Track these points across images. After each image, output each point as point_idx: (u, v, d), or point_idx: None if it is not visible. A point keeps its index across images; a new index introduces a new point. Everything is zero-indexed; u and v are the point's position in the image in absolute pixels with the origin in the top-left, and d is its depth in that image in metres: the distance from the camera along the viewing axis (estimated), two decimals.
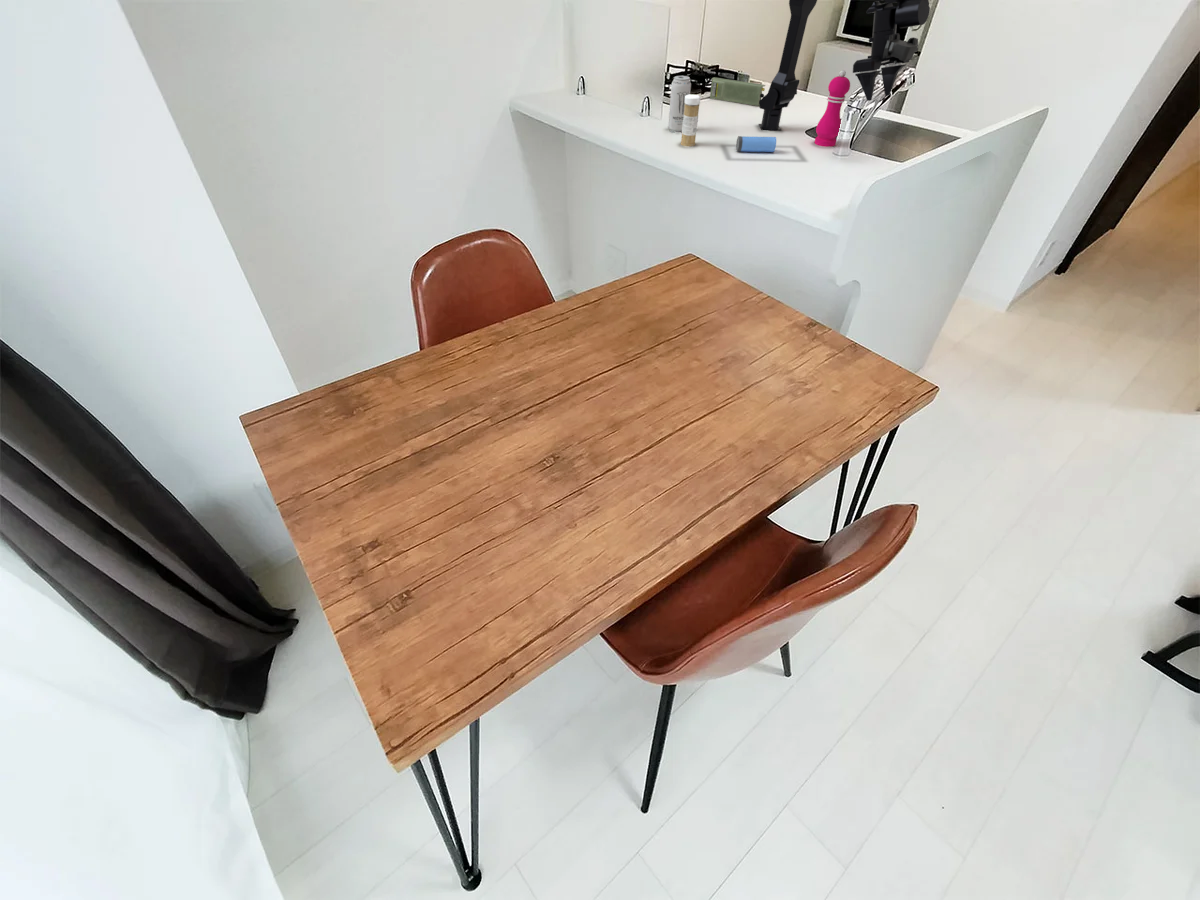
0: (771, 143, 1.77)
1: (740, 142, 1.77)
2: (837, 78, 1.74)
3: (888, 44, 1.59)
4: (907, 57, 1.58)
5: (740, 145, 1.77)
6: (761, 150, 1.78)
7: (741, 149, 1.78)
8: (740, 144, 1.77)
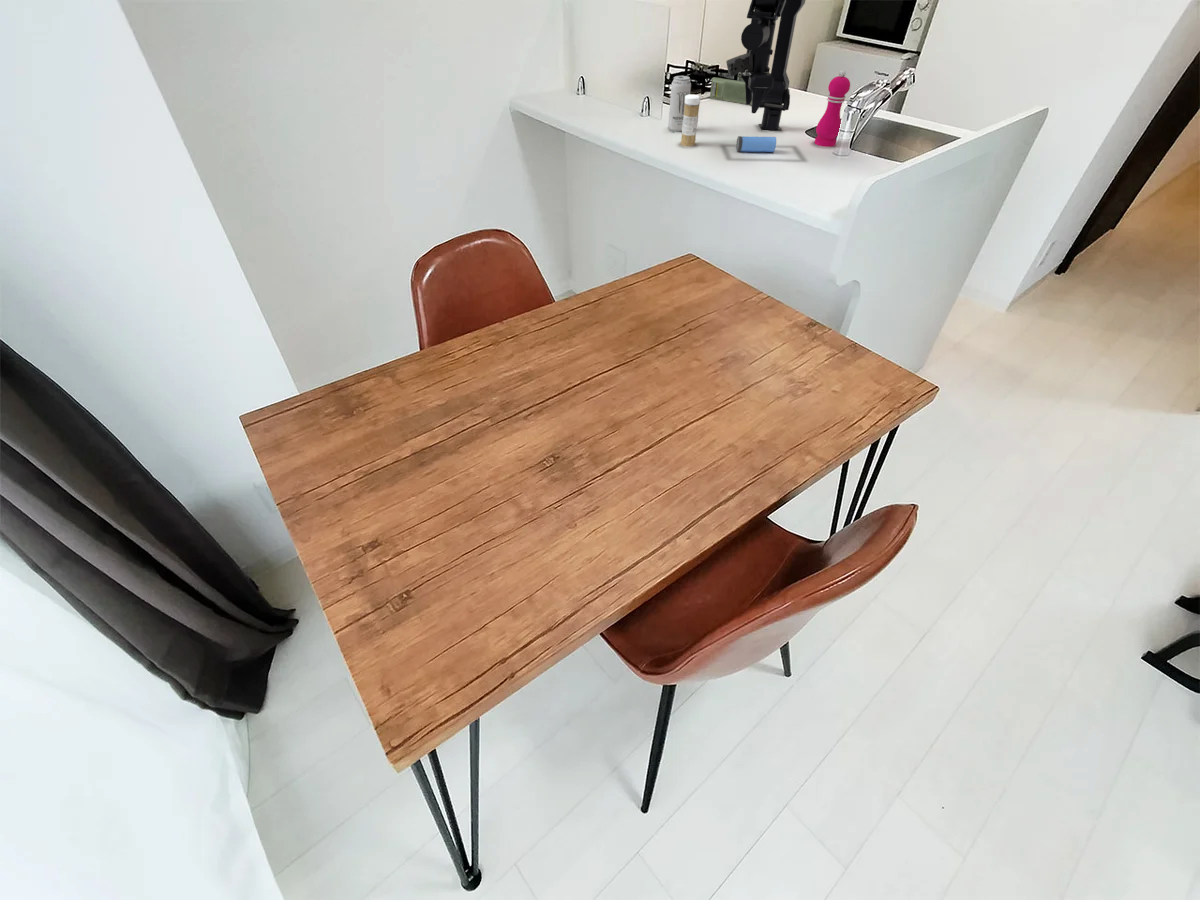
0: (771, 143, 1.77)
1: (740, 142, 1.77)
2: (837, 78, 1.74)
3: None
4: (728, 71, 1.67)
5: (740, 145, 1.77)
6: (761, 150, 1.78)
7: (741, 149, 1.78)
8: (740, 144, 1.77)
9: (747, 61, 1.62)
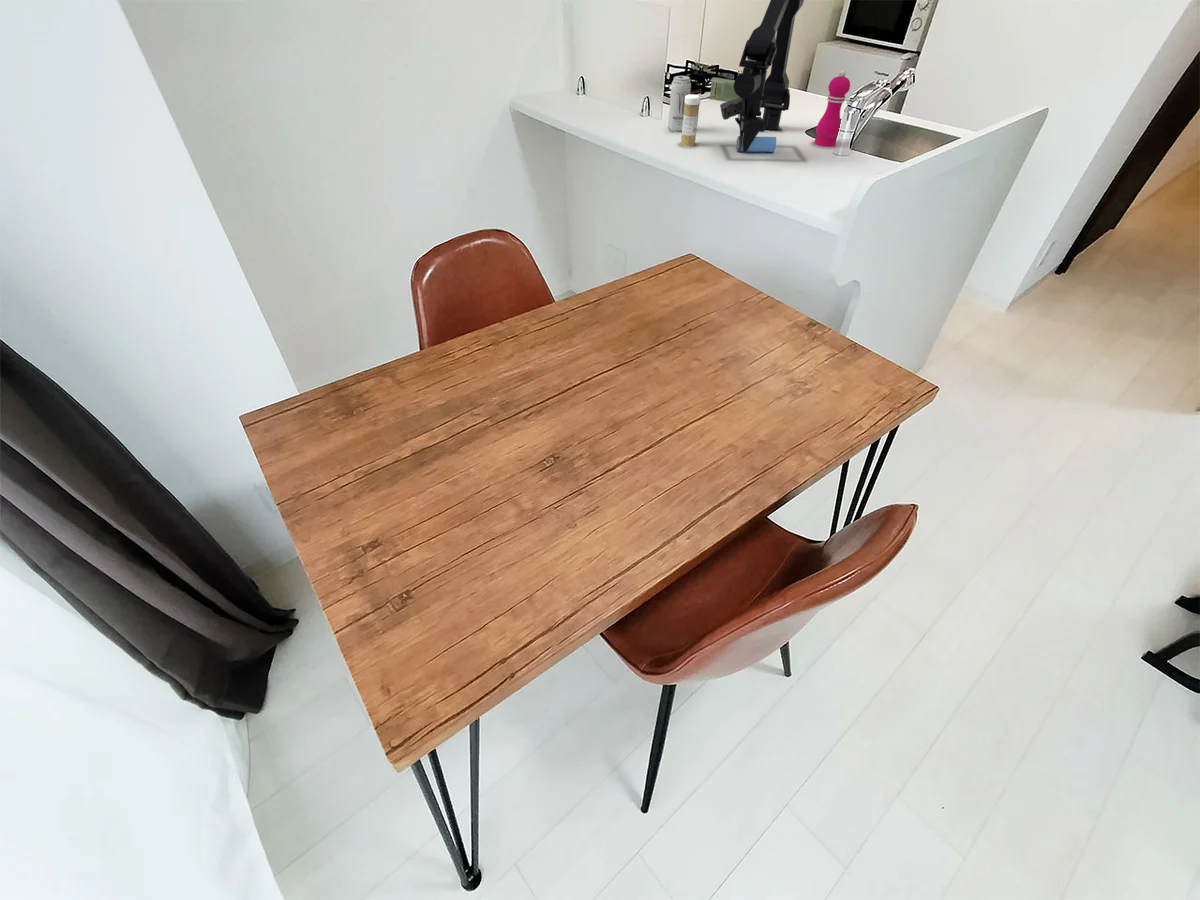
0: (771, 143, 1.77)
1: (740, 142, 1.77)
2: (837, 78, 1.74)
3: None
4: None
5: (740, 145, 1.77)
6: (761, 150, 1.78)
7: (741, 149, 1.78)
8: (740, 144, 1.77)
9: (740, 106, 1.69)
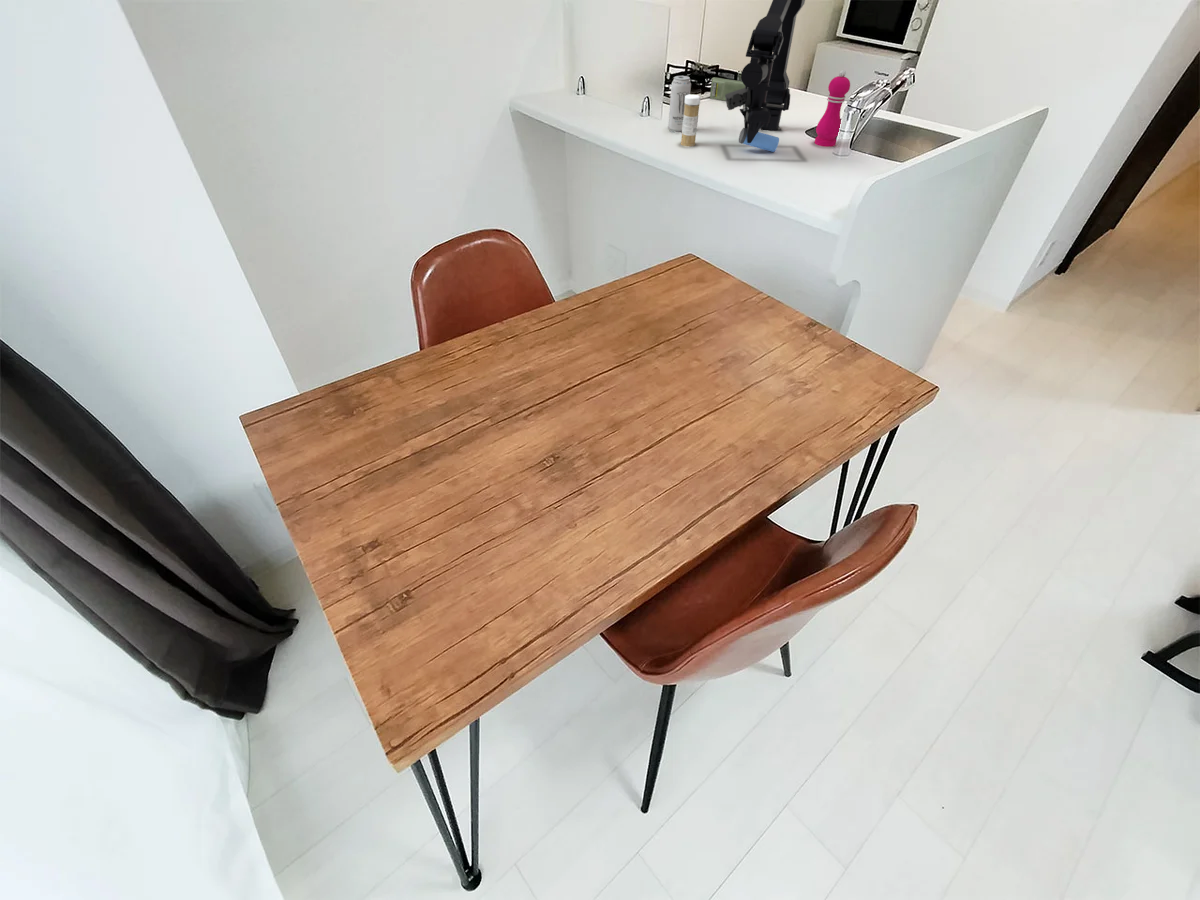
0: (773, 142, 1.77)
1: (744, 134, 1.75)
2: (837, 78, 1.74)
3: None
4: None
5: (744, 137, 1.75)
6: (763, 147, 1.78)
7: (744, 141, 1.76)
8: (744, 136, 1.75)
9: (745, 96, 1.68)
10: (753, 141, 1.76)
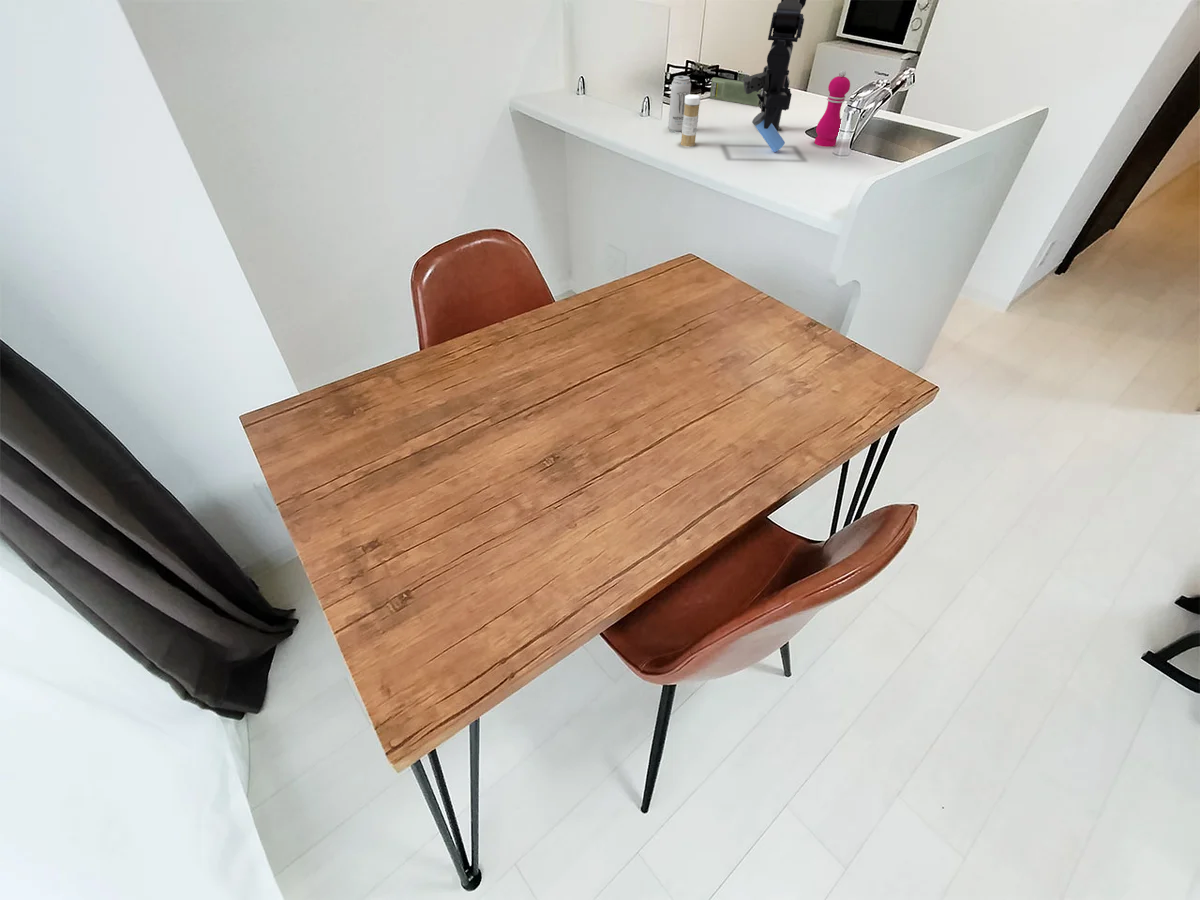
0: (779, 143, 1.77)
1: (763, 117, 1.72)
2: (837, 78, 1.74)
3: None
4: (744, 88, 1.70)
5: (761, 120, 1.72)
6: (768, 141, 1.77)
7: (758, 124, 1.73)
8: (761, 119, 1.72)
9: (763, 80, 1.65)
10: (765, 129, 1.74)
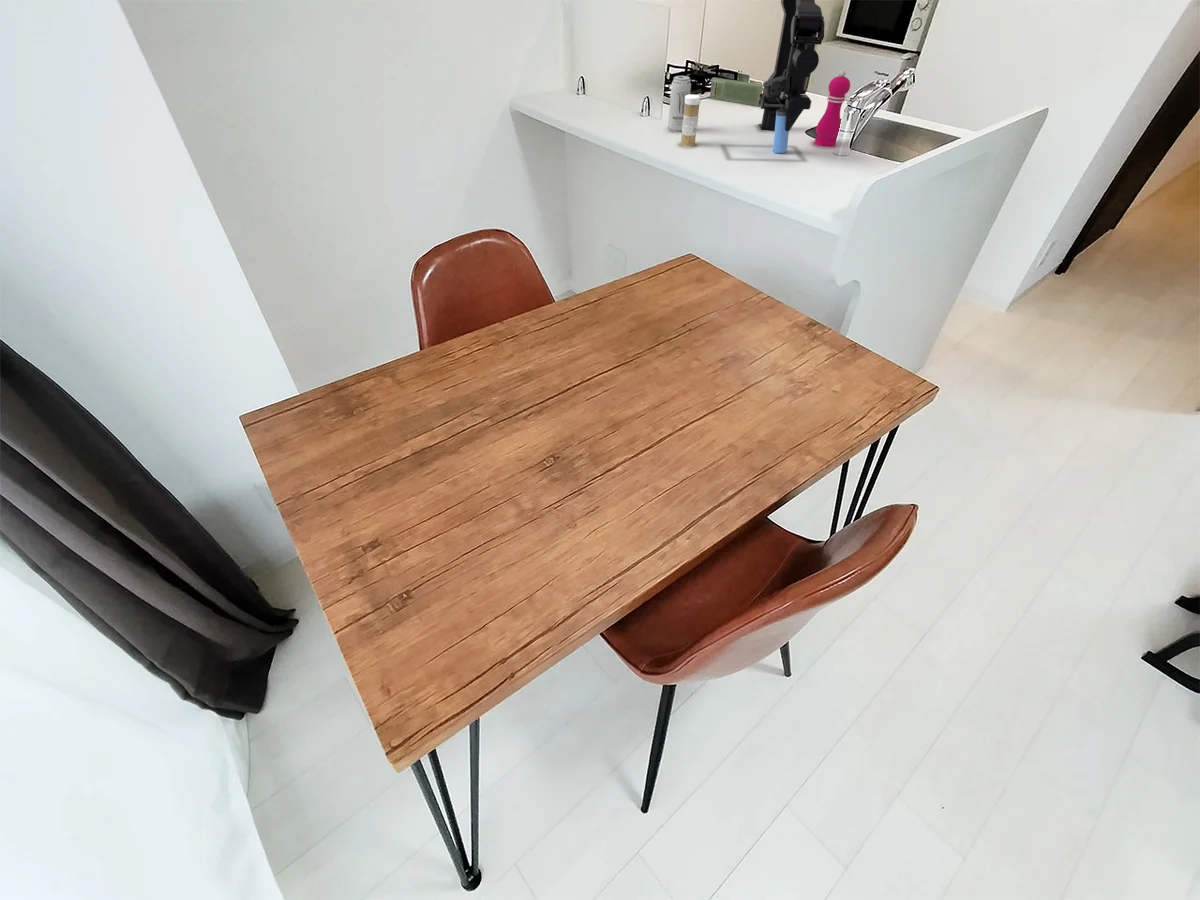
0: (784, 147, 1.77)
1: None
2: (837, 78, 1.74)
3: None
4: (764, 92, 1.70)
5: (785, 114, 1.71)
6: (777, 139, 1.76)
7: (781, 116, 1.72)
8: None
9: (784, 83, 1.66)
10: (782, 126, 1.73)
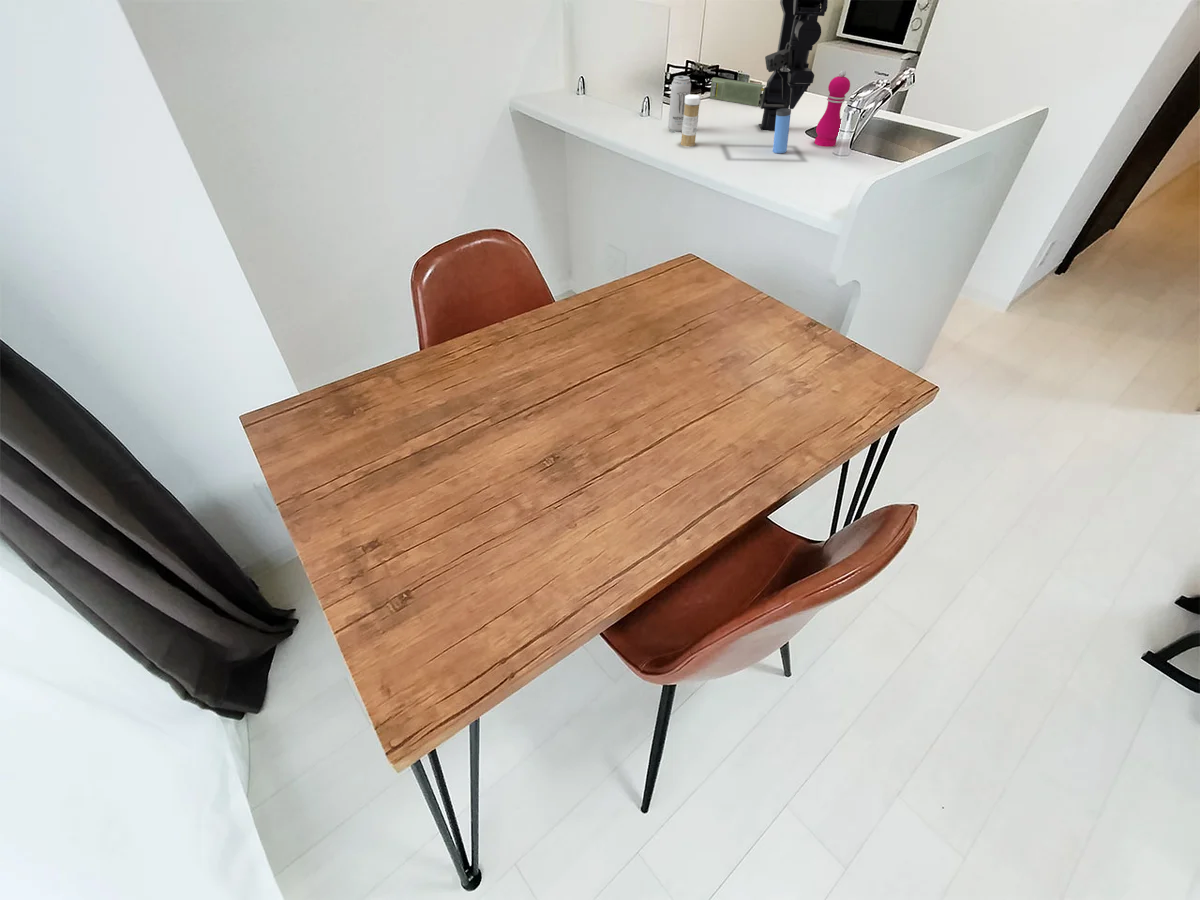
0: (784, 147, 1.77)
1: (788, 113, 1.71)
2: (837, 78, 1.74)
3: None
4: (766, 67, 1.67)
5: (785, 114, 1.71)
6: (777, 139, 1.76)
7: (781, 116, 1.72)
8: (786, 113, 1.71)
9: (786, 57, 1.62)
10: (782, 126, 1.73)
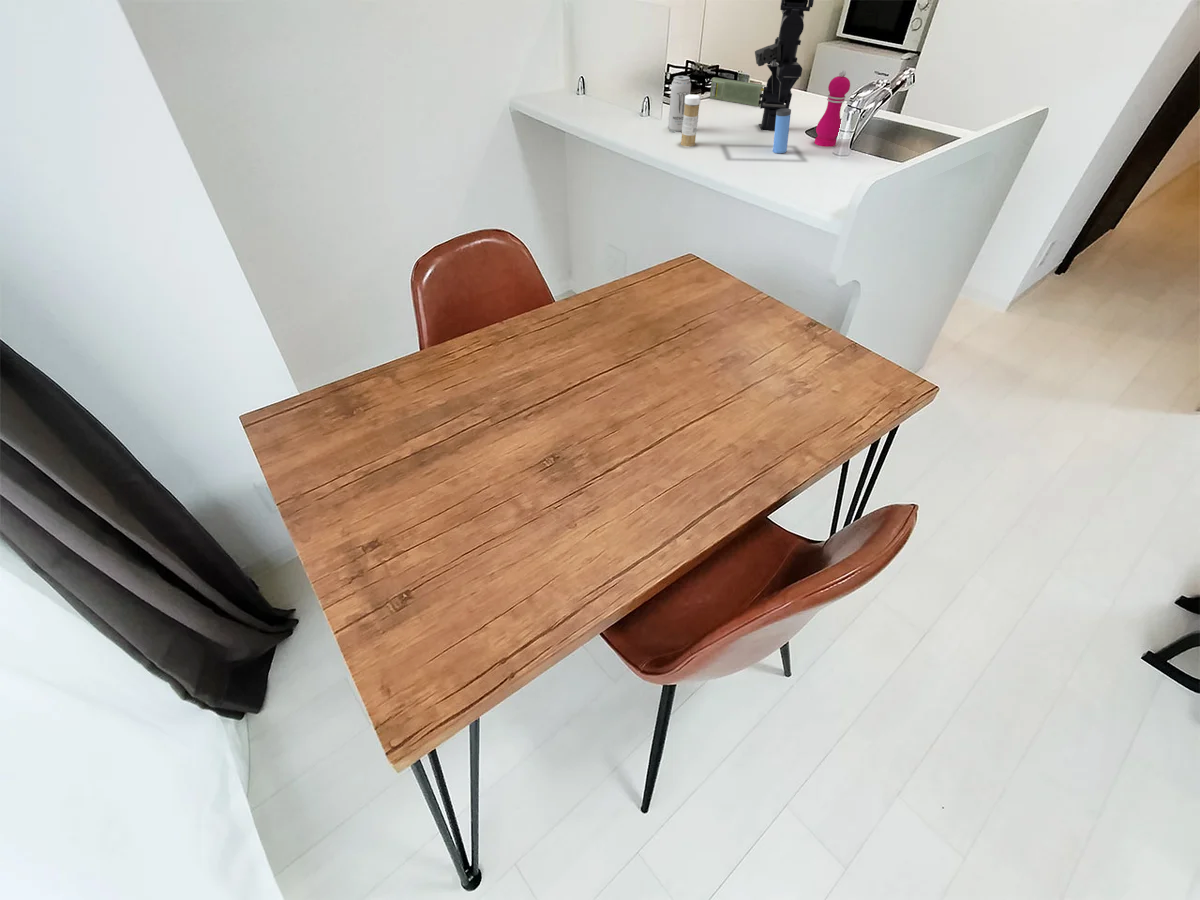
0: (784, 147, 1.77)
1: (788, 113, 1.71)
2: (837, 78, 1.74)
3: None
4: (756, 61, 1.71)
5: (785, 114, 1.71)
6: (777, 139, 1.76)
7: (781, 116, 1.72)
8: (786, 113, 1.71)
9: (775, 51, 1.66)
10: (782, 126, 1.73)
